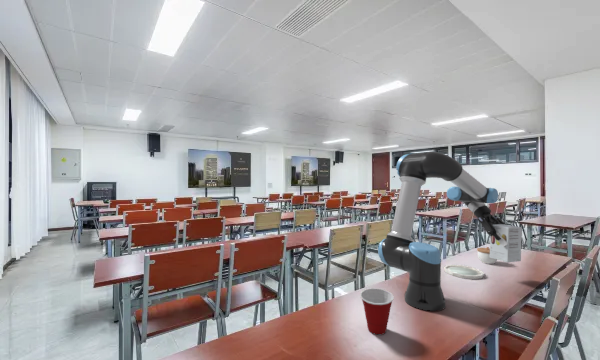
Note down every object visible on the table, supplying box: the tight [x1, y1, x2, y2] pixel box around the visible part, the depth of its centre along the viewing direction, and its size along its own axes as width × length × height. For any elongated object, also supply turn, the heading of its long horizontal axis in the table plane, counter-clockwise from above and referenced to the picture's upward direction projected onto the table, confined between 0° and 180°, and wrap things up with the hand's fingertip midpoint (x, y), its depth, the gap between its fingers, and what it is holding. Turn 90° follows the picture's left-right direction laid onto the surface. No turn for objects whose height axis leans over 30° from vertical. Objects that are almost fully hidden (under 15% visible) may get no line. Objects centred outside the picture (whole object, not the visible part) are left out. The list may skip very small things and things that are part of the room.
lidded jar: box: [476, 246, 498, 265], centre depth 166 cm, size 11×11×9 cm
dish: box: [443, 264, 485, 280], centre depth 147 cm, size 18×18×2 cm
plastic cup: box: [359, 287, 395, 335], centre depth 91 cm, size 11×11×12 cm
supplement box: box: [489, 223, 523, 263], centre depth 137 cm, size 10×9×17 cm
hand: (512, 244), depth 134 cm, fingers closed on supplement box, 10 cm apart
